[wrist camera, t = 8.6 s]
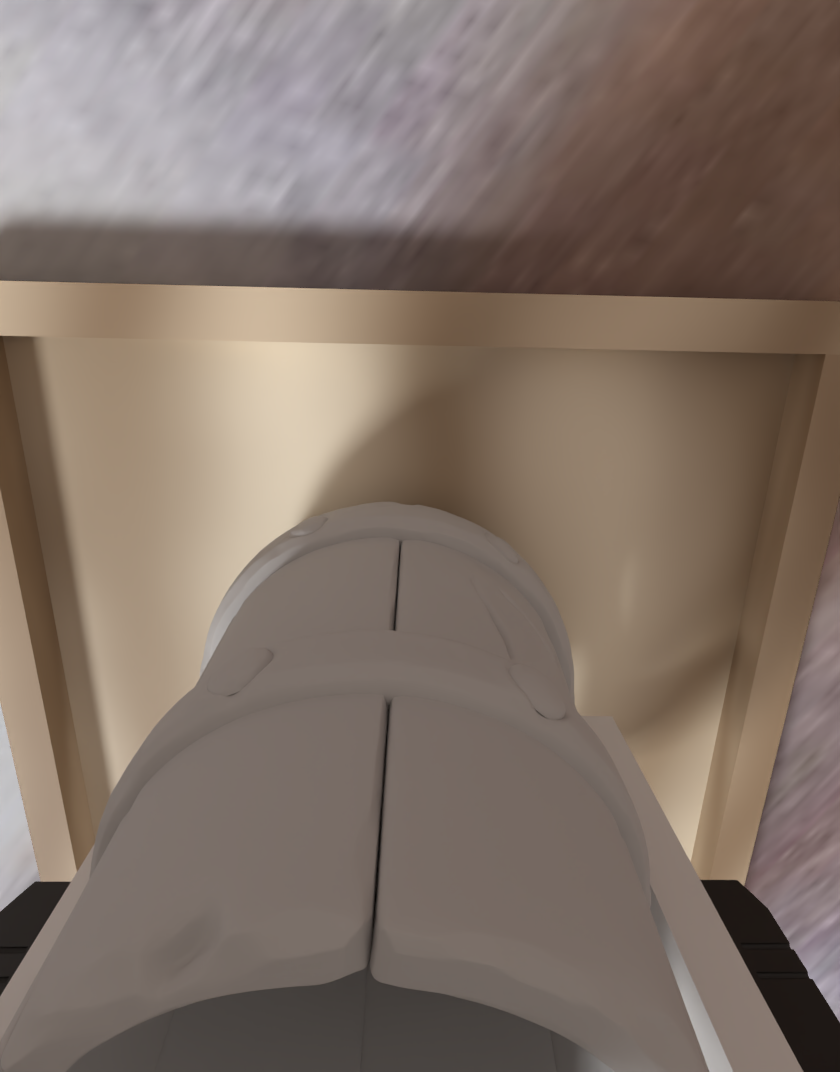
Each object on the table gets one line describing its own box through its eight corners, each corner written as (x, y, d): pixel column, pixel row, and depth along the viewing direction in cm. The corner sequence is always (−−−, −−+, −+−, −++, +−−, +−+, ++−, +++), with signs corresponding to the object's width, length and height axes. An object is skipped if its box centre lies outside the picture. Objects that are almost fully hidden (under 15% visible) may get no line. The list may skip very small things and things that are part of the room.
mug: (459, 420, 13) (860, 1149, 1) (666, 816, 16) (1295, 2015, 5) (163, 582, 14) (-1042, 1756, 2) (412, 923, 17) (410, 2102, 6)
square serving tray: (91, 943, 19) (65, 993, 17) (-40, 284, 13) (-96, 278, 11) (695, 943, 19) (718, 991, 18) (836, 306, 13) (887, 302, 12)
